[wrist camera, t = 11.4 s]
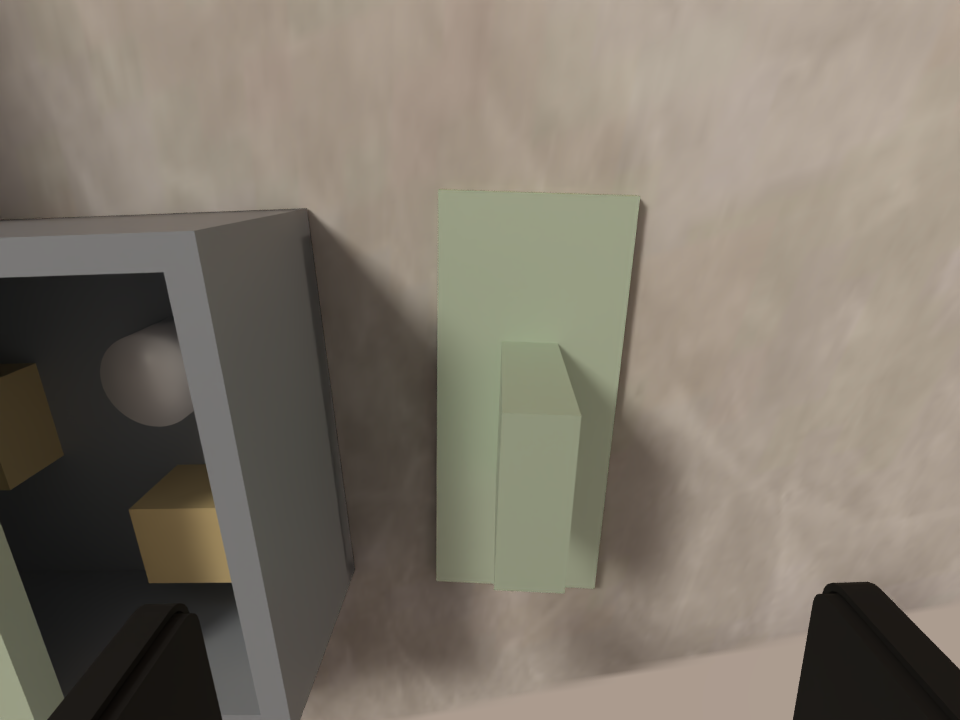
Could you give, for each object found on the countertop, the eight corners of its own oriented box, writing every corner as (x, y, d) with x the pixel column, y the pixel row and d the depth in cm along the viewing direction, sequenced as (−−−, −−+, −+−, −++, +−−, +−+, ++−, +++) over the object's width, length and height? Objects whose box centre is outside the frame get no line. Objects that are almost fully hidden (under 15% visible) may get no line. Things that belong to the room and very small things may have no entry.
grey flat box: (354, 569, 19) (294, 736, 14) (-90, 573, 20) (-325, 734, 14) (306, 208, 15) (193, 230, 10) (-241, 229, 16) (-644, 261, 10)
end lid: (590, 572, 19) (625, 730, 14) (438, 565, 20) (414, 718, 14) (633, 194, 15) (707, 209, 10) (441, 188, 16) (408, 199, 10)
